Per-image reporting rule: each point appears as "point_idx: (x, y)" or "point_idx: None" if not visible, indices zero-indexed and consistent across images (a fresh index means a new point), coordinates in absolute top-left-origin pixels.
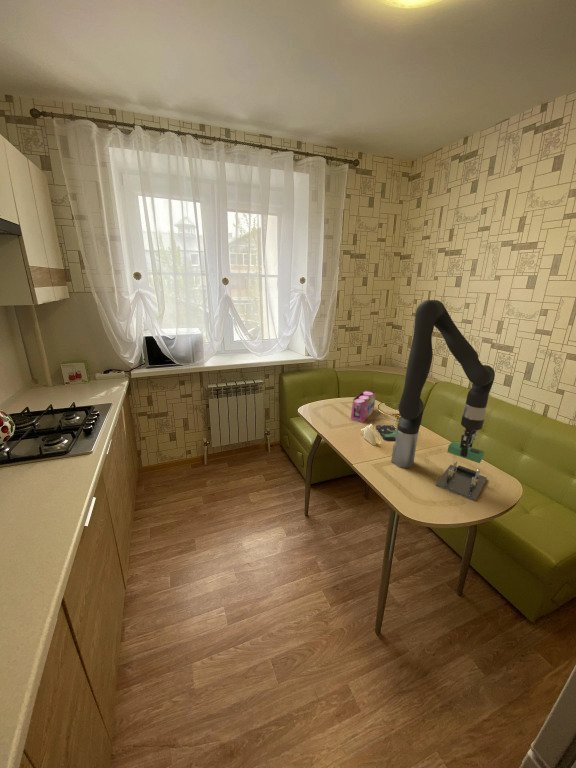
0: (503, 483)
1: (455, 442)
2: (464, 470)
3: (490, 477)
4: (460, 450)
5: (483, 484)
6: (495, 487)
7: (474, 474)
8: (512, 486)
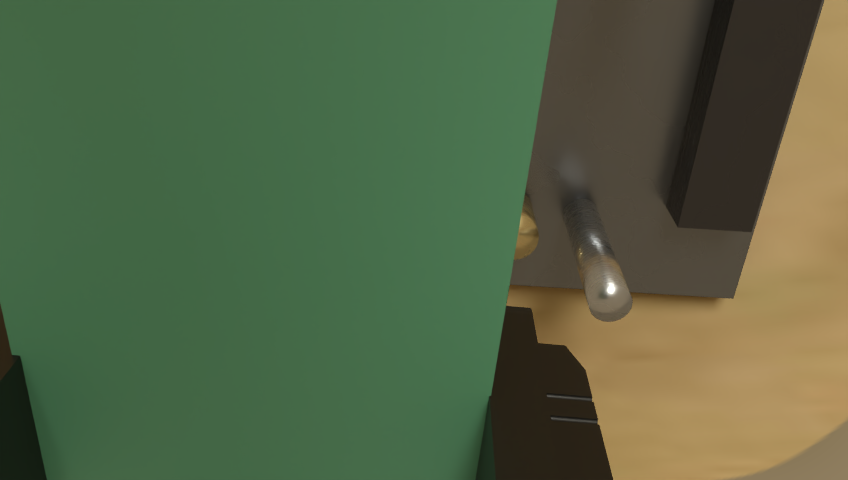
0: (730, 409)
1: (508, 70)
2: (713, 75)
3: (796, 308)
4: (15, 318)
5: (544, 286)
6: (601, 362)
7: (680, 195)
8: (715, 466)
